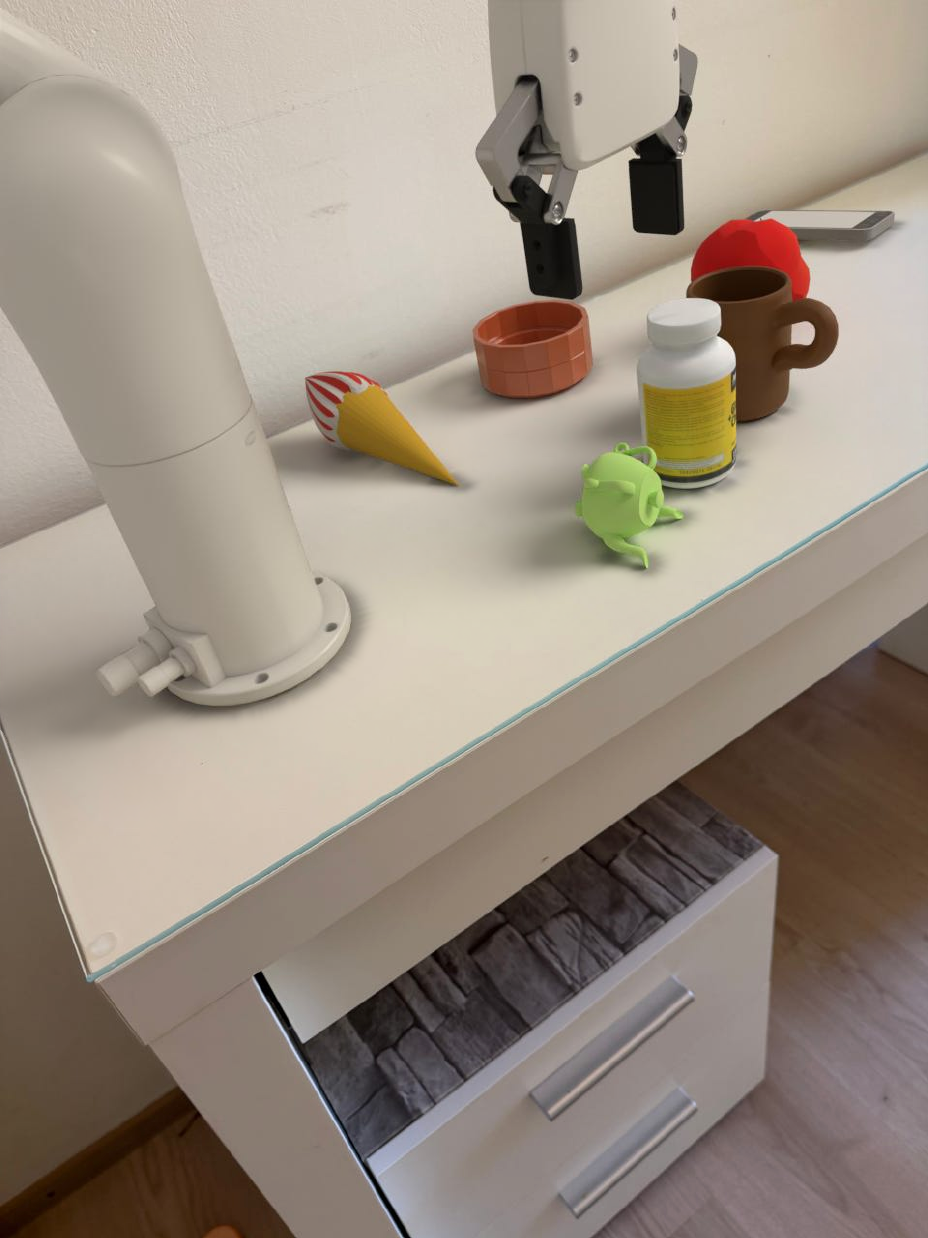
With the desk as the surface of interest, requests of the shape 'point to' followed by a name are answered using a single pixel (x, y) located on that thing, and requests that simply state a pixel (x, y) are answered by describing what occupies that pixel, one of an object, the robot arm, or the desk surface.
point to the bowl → (533, 348)
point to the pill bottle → (688, 394)
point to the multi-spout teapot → (622, 498)
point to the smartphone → (830, 223)
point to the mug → (765, 332)
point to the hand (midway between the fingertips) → (609, 262)
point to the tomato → (754, 251)
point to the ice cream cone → (368, 422)
